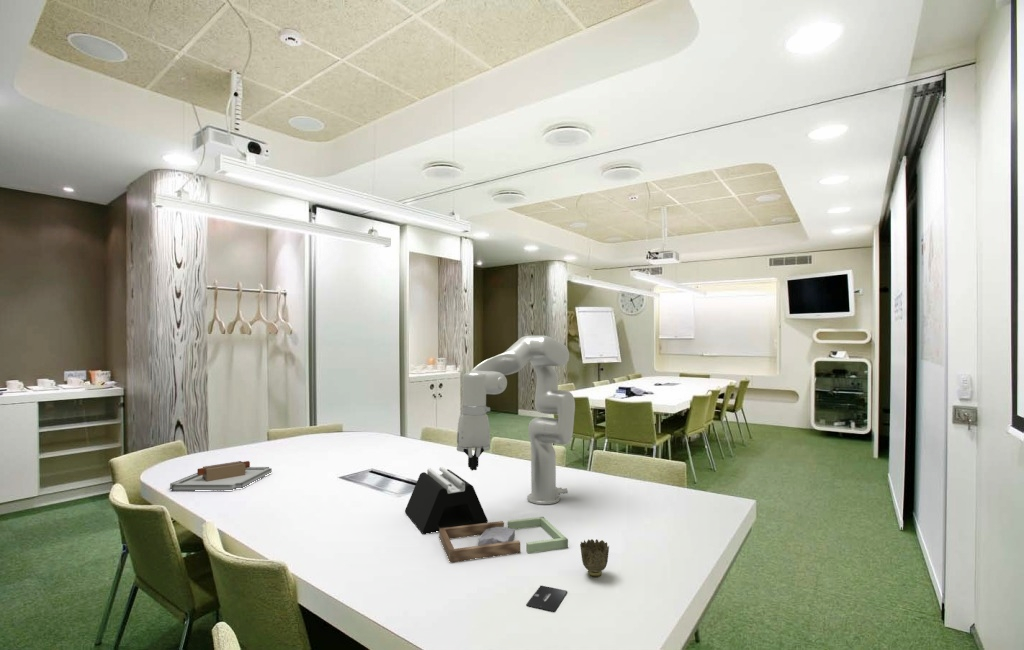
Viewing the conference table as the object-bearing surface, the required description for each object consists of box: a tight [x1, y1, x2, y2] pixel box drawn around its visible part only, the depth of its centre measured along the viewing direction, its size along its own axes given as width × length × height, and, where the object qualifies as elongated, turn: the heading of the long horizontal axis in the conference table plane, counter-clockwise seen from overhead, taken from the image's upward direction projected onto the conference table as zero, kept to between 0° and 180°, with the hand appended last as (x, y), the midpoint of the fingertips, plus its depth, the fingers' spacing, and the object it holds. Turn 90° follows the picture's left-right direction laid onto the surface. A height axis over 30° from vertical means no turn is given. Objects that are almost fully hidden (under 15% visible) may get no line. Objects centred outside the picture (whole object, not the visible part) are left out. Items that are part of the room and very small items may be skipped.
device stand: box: [404, 466, 489, 535], centre depth 170 cm, size 22×22×15 cm
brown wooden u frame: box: [438, 520, 521, 563], centre depth 146 cm, size 20×18×3 cm
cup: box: [579, 538, 610, 579], centre depth 127 cm, size 8×7×8 cm
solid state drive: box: [525, 585, 568, 613], centre depth 116 cm, size 7×10×1 cm
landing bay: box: [507, 516, 569, 554], centre depth 152 cm, size 12×20×2 cm, turn 18°
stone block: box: [477, 526, 516, 546], centre depth 148 cm, size 12×5×10 cm
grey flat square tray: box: [169, 460, 273, 492], centre depth 216 cm, size 30×30×8 cm
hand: (473, 469), depth 155 cm, fingers closed
